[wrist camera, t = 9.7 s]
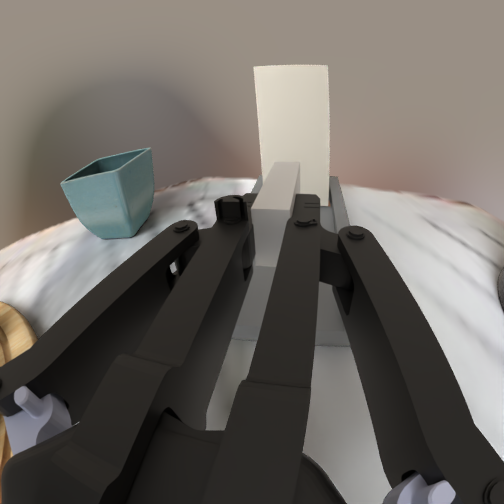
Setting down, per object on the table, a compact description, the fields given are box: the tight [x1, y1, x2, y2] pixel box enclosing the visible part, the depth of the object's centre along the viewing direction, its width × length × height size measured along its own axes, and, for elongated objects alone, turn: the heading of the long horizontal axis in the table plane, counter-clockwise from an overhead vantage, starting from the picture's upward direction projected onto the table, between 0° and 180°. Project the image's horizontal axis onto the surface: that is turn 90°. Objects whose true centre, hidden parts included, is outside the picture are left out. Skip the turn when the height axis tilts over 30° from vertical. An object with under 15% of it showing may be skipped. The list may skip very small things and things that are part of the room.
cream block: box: [254, 65, 330, 206], centre depth 28 cm, size 7×6×15 cm
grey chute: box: [232, 175, 350, 346], centre depth 26 cm, size 10×24×3 cm, turn 170°
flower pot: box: [60, 148, 154, 239], centre depth 30 cm, size 9×9×9 cm
